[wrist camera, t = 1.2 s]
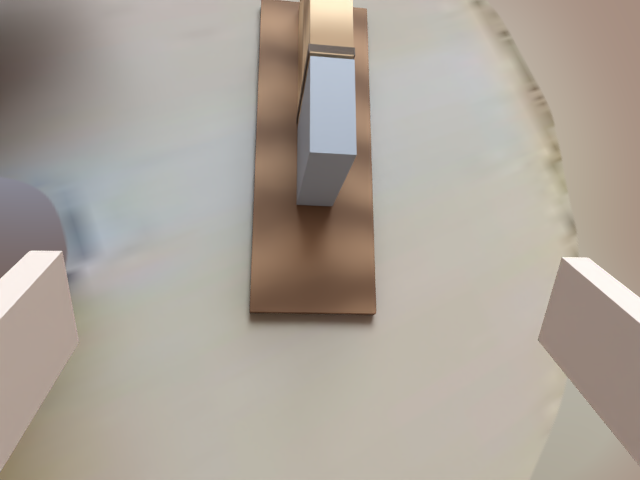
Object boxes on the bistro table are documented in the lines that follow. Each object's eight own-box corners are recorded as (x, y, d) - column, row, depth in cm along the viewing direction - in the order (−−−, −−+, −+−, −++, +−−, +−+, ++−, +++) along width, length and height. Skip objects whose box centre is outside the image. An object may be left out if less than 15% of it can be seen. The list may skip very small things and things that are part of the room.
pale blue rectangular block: (332, 206, 40) (356, 154, 31) (296, 204, 40) (309, 152, 30) (331, 130, 42) (354, 59, 33) (297, 128, 42) (310, 55, 32)
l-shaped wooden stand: (373, 314, 40) (416, 293, 29) (249, 312, 38) (248, 290, 28) (364, 16, 47) (396, -86, 37) (261, 6, 46) (263, -102, 36)
